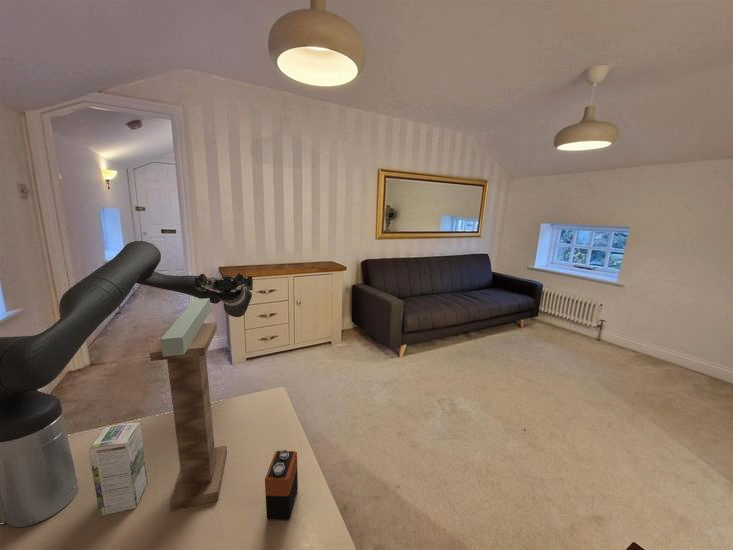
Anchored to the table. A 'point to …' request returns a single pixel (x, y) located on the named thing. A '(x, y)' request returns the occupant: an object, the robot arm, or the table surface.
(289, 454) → the battery
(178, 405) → the stand
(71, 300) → the robot arm
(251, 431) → the table surface
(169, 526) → the table surface
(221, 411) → the table surface
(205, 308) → the peg
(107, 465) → the syrup box
